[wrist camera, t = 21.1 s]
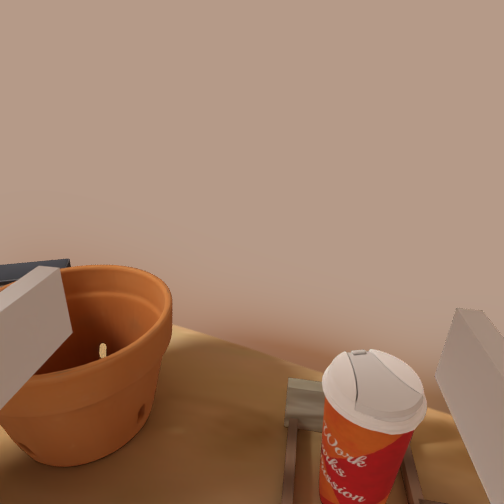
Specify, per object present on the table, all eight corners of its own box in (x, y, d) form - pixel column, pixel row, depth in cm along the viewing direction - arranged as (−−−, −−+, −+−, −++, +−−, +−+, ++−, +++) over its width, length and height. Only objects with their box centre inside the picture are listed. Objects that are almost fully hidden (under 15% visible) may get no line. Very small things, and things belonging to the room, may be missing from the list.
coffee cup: (297, 462, 39) (310, 347, 33) (370, 453, 40) (396, 340, 34) (324, 553, 31) (348, 426, 25) (413, 538, 33) (456, 413, 27)
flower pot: (-68, 462, 38) (-124, 345, 32) (78, 341, 56) (60, 252, 50) (107, 535, 32) (80, 409, 26) (206, 374, 51) (203, 278, 45)
